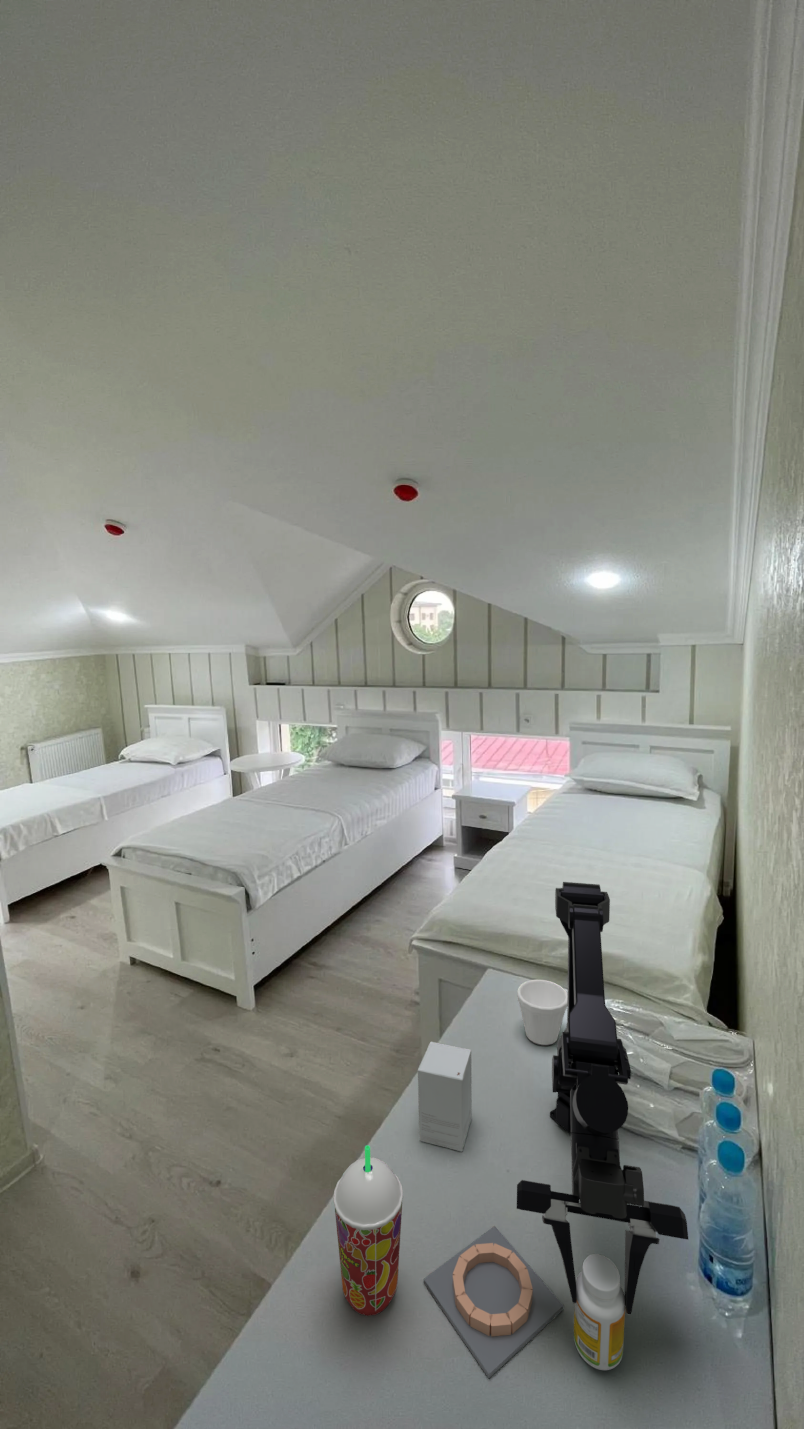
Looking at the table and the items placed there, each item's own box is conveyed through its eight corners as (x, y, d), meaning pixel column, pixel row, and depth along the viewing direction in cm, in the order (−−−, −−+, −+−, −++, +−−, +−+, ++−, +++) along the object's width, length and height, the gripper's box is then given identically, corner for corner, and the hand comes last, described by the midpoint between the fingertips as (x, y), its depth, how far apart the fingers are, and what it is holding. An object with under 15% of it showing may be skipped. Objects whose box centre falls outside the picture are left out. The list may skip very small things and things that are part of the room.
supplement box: (472, 1118, 102) (473, 1049, 100) (462, 1154, 95) (462, 1080, 94) (430, 1107, 105) (430, 1039, 103) (417, 1141, 98) (416, 1069, 96)
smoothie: (327, 1273, 78) (323, 1132, 75) (388, 1246, 81) (386, 1111, 78) (348, 1342, 70) (344, 1189, 67) (414, 1310, 74) (413, 1163, 71)
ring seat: (494, 1229, 83) (494, 1216, 83) (563, 1309, 73) (563, 1295, 73) (423, 1283, 77) (423, 1269, 76) (488, 1378, 67) (489, 1363, 66)
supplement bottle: (616, 1319, 72) (619, 1249, 70) (628, 1375, 67) (632, 1300, 65) (569, 1315, 72) (572, 1244, 71) (577, 1370, 67) (580, 1295, 66)
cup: (510, 1022, 127) (510, 980, 125) (556, 1018, 128) (558, 977, 127) (525, 1055, 117) (526, 1011, 116) (575, 1051, 118) (576, 1007, 117)
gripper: (518, 1121, 72) (514, 1303, 63) (689, 1147, 68) (711, 1344, 59) (518, 1126, 80) (514, 1286, 71) (669, 1150, 77) (686, 1321, 68)
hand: (601, 1308), depth 67 cm, fingers closed on supplement bottle, 5 cm apart
